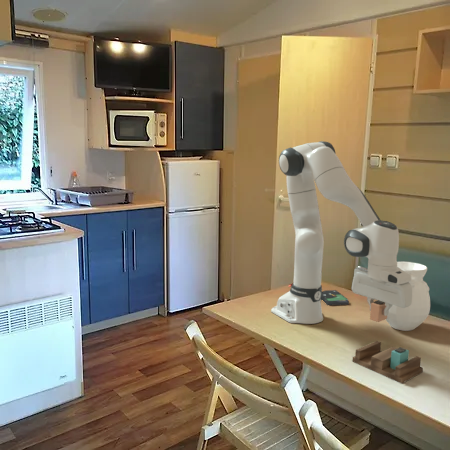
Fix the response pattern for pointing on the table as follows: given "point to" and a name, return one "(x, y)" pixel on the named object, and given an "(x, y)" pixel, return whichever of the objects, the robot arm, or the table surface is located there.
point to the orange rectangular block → (377, 311)
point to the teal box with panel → (398, 357)
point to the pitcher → (420, 300)
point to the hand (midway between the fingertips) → (378, 312)
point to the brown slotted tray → (386, 362)
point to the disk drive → (334, 298)
